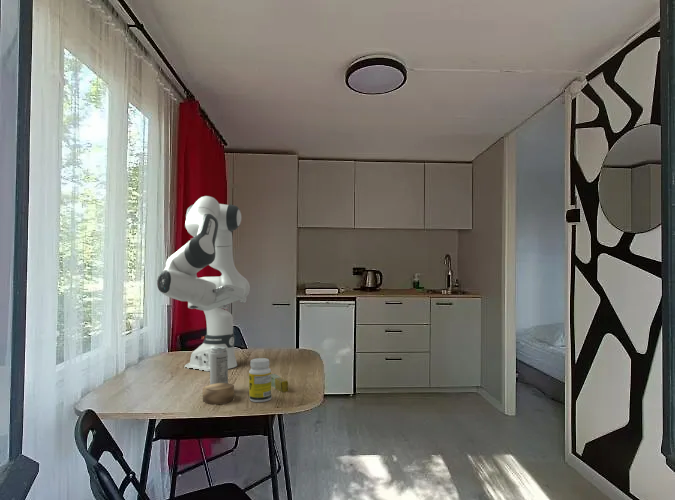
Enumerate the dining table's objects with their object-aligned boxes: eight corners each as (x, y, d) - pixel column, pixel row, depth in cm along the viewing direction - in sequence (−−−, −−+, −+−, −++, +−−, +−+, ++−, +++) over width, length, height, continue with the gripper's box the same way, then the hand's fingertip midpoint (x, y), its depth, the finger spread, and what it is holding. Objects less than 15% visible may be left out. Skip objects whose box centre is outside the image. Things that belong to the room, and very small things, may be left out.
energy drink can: (222, 387, 169) (221, 345, 170) (231, 390, 165) (230, 347, 165) (207, 391, 165) (206, 348, 165) (215, 394, 161) (215, 350, 161)
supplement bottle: (250, 396, 157) (249, 357, 158) (272, 395, 158) (271, 357, 158) (248, 403, 150) (247, 362, 150) (271, 402, 151) (270, 361, 151)
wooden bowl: (196, 402, 152) (196, 389, 152) (214, 394, 161) (214, 381, 161) (222, 405, 148) (222, 391, 148) (240, 396, 158) (240, 383, 158)
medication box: (268, 385, 172) (268, 374, 172) (275, 384, 174) (275, 373, 174) (281, 393, 162) (281, 381, 162) (289, 391, 163) (288, 380, 163)
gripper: (225, 277, 154) (256, 288, 164) (187, 292, 165) (218, 301, 175) (224, 295, 152) (255, 305, 161) (185, 309, 163) (217, 318, 173)
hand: (236, 303), depth 169 cm, fingers open, 8 cm apart
